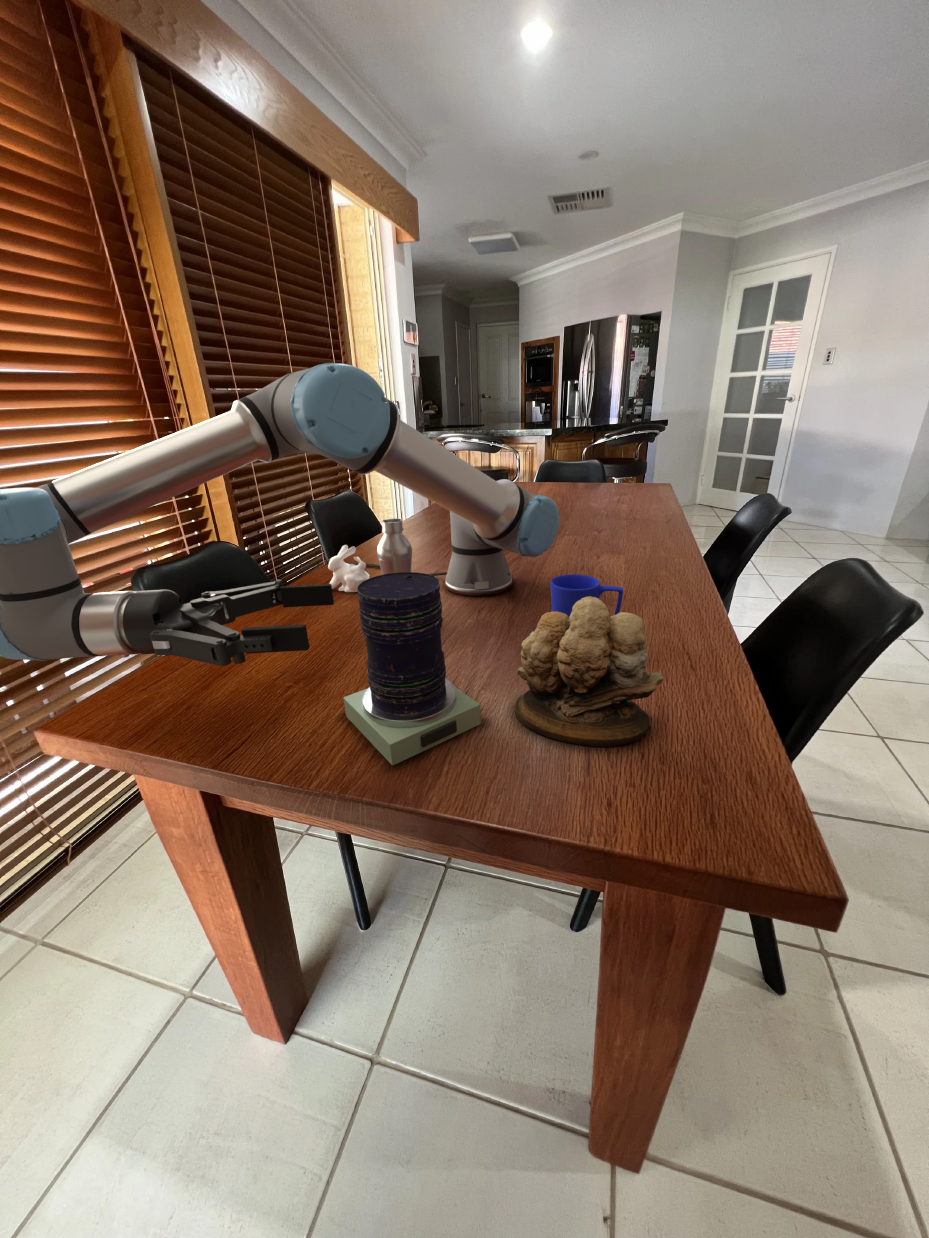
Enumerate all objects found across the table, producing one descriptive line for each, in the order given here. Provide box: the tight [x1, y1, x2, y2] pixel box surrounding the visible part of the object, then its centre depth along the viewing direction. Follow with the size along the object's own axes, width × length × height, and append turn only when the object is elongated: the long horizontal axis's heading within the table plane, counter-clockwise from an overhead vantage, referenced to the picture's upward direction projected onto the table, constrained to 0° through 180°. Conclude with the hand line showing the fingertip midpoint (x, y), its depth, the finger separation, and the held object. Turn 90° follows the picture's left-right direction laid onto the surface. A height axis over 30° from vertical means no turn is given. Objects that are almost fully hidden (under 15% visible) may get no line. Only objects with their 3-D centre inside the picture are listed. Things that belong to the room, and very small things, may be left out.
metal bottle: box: [376, 518, 413, 575], centre depth 91 cm, size 6×7×20 cm
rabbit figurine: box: [327, 544, 371, 593], centre depth 115 cm, size 12×8×10 cm, turn 73°
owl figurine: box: [514, 596, 664, 747], centre depth 61 cm, size 18×12×17 cm, turn 72°
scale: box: [342, 687, 482, 766], centre depth 65 cm, size 13×13×3 cm
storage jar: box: [357, 571, 447, 715], centre depth 61 cm, size 10×10×15 cm
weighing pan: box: [363, 677, 456, 728], centre depth 64 cm, size 12×12×1 cm
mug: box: [550, 574, 624, 619], centre depth 86 cm, size 8×12×10 cm
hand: (321, 613), depth 59 cm, fingers open, 13 cm apart
